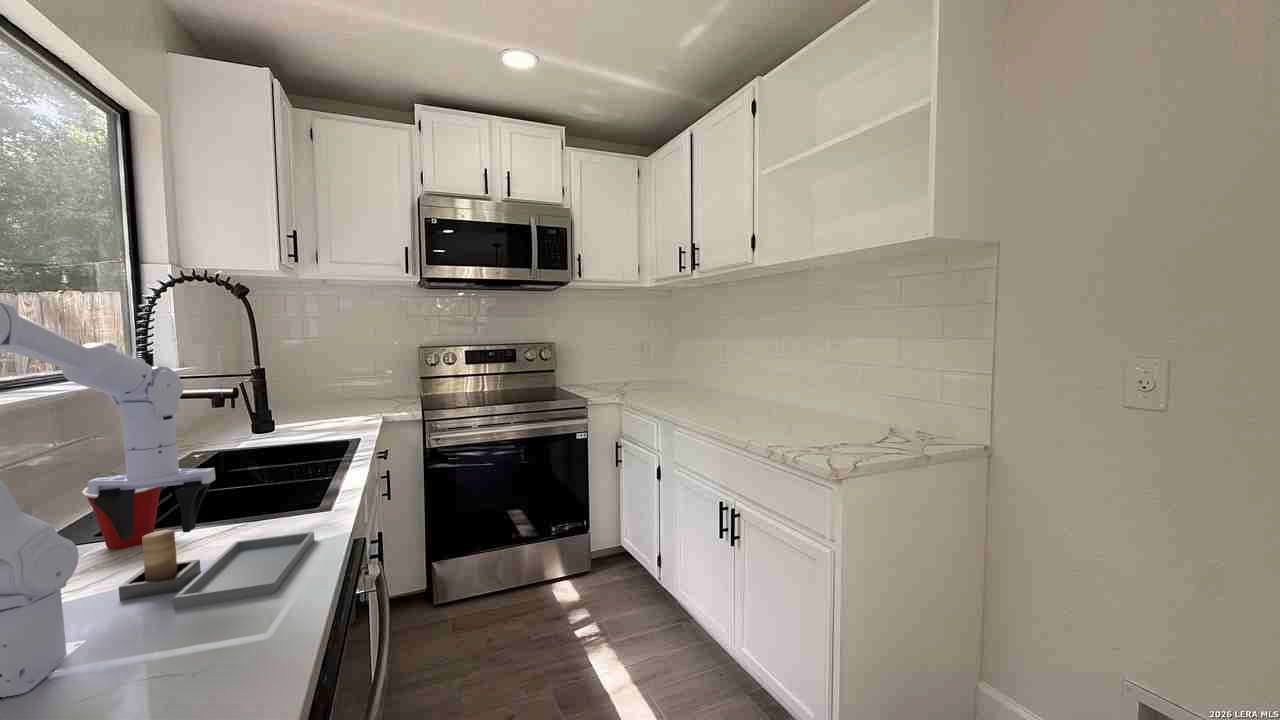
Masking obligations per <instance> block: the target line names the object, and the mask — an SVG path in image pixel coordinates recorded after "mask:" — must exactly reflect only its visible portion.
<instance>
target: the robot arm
mask: <svg viewBox="0 0 1280 720" xmlns="http://www.w3.org/2000/svg"><path fill="white" fill-rule="evenodd" d="M117 348H118V346H117V345H115V344H114V343H111V342H90V343H86V344H81V343H79V342H76V341H74V340H73V339H70V338H68V337H66V336H65V335H62V334H60V333H59V332H56V331H55V330H52V329H50V328H48V327H46V326H44V325H42V324H40V323H38V322H36V321H34V320H32V319H30V318H28V317H26V316H24V315H22V314H20V313H18V311H17V309H16V306H14V305H12V304H9V303H6V302H3V301H0V350H4V351H7V352H10V353H14V354H17V355H19V356H22V357H23V356H24V357H26V358H29V359H33V360H36V361H39V362H42V363H45V364H48V365H52V366H55V367H58V368H61V372H62V375H63V377H64V378H65V379H66V380H68V381H70V382H72V383H75V384H77V385H81V386H83V387H86V388H89V389H92V390H94V391H98V392H101V393H104V394H106V396H107V397H108V400H109V401H110V402H112V403H113V404H114V405H120V411H121V421H122V422H121V423H122V436H123V447H124V459H125V460H124V461H125V470H126V471H125V472H126V474H125V473H124V474H119V475H112V476H111V475H110V476H103V477H96V478H94V479H90V480H88V481H87V487H88V492H89V494H97V493H99V495H98V497H96V498H94V499H93V502H94V504H95V505H96V506H97V507H98V508H100V509H101V510H102V511H103V512H104V513H105V515H106V516H107V517H108V518H109V520H110V521H111V523H112V525H113V526H114V528H115V530H116V532H117V534H118V537H119V539H120V540H125V539H127V538H128V537H130V536H132V535H133V534H134V518H133V502H134V495H135V489H140V488H151V487H162V488H163V487H169V486H170V487H172V486H180V485H183V486H180V487H179V488H177V489H175V490H174V494H175V497H176V499H177V502H178V506H179V509H180V519H181V530H182V532H183V533H189V532H191V531H192V530H194V529H195V528H196V523H197V519H198V514H199V510H200V508H201V505H202V502H203V500H204V497H205V495H206V494H207V491H208V490H209V488H210V486H211V483H212V482H214V481H216V470H215V467H207V468H180V465H179V454H178V437H177V427H176V414H177V413H178V410H179V406H180V405H179V402H180V399H181V397H182V395H183V392H184V388H185V383H184V382H183V381H182V380H181V378H180V375H179V374H178V373H177V372H176V371H174V370H172V369H171V368H170V367H168V366H152V365H150V364H149V363H147V362H146V360H145V359H143V358H140V357H133V356H130V355H129V354H126V353H123V352H121V351H119V350H117ZM79 555H80V554H79V550H78V547H77V545H76V544H75V543H74V542H73V541H72V540H71V539H69V538H66V537H63V536H62V535H60V534H59V533H58V532H57V531H56V530H55V528H54V526H53V525H52V524H50V523H48V522H46V521H44V520H41V519H40V518H36V517H34V516H31V515H29V514H28V513H24V512H22V510H21V509H20V507H19V506H18V504H17V502H16V501H15V500H14V498H13V496H12V494H11V493H10V491H9V490H8V488H7V487H6V485H5V483H4V481H3V480H2V478H0V697H2V698H7V696H8V697H12V696H18V695H23V694H25V693H28V692H30V691H31V690H32V689H33V688H34V687H36V686H37V685H38V684H39V683H41V682H42V681H43V680H45V679H46V678H47V677H48V676H49V675H51V674H52V673H53V672H55V670H56V669H54V668H56V667H58V665H59V664H60V663H62V662H63V661H64V660H66V659H67V658H68V657H69V656H70V655H72V654H73V653H75V651H76V650H78V649H79V648H80V647H82V646H84V644H85V643H86V642H87V640H86V639H85V640H76V641H72V642H71V641H70V642H66V633H65V620H64V613H63V612H64V609H63V601H62V589H63V588H65V587H67V582H68V581H69V580H70V578H71V577H72V576H73V575H74V573H75V571H76V569H77V566H78V563H79V559H80V558H79Z"/></svg>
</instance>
